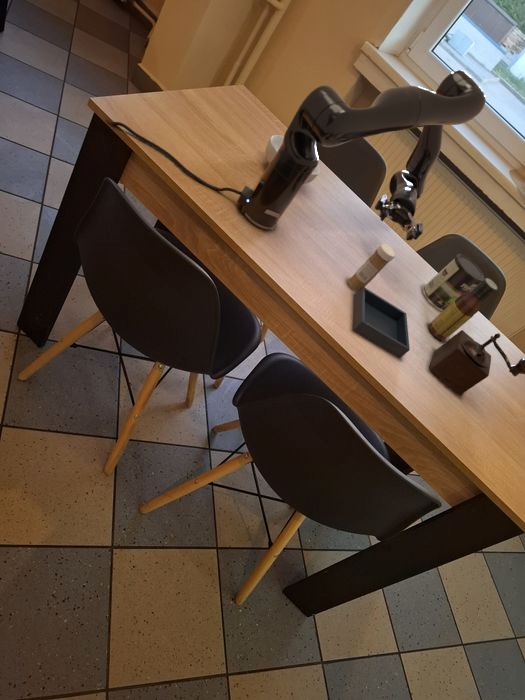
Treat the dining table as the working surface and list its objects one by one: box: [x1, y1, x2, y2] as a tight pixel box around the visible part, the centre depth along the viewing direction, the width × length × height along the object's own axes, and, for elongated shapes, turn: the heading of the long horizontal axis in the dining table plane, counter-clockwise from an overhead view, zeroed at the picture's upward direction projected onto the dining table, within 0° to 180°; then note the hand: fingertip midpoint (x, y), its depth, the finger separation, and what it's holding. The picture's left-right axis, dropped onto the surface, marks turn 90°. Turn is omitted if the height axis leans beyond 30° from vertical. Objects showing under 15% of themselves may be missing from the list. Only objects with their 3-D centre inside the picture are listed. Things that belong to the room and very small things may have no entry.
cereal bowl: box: [265, 134, 321, 185], centre depth 144 cm, size 17×17×7 cm
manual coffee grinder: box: [428, 329, 525, 397], centre depth 120 cm, size 16×11×18 cm
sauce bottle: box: [428, 277, 498, 341], centre depth 130 cm, size 7×6×20 cm
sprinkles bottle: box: [347, 242, 396, 292], centre depth 124 cm, size 5×5×14 cm
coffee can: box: [421, 253, 486, 312], centre depth 145 cm, size 10×10×14 cm
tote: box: [352, 286, 411, 359], centre depth 121 cm, size 14×14×4 cm
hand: (396, 227), depth 127 cm, fingers open, 8 cm apart
